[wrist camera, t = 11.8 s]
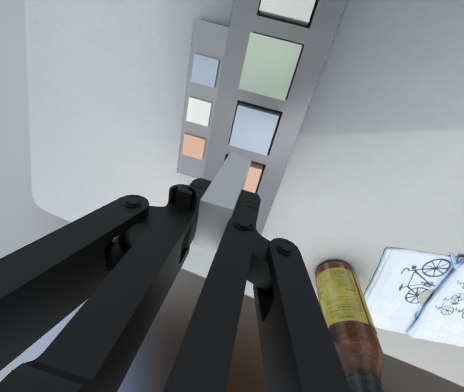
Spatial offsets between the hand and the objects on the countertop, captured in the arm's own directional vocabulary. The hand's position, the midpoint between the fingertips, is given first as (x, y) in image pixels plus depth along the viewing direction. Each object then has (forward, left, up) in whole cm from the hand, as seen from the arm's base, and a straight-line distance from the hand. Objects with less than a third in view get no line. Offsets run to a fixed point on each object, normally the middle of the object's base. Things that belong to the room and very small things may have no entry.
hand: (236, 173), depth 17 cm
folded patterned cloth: (-34, +19, -17) cm, 42 cm away
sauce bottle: (-19, +20, -17) cm, 32 cm away
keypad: (+2, 0, -16) cm, 17 cm away
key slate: (0, 0, -16) cm, 16 cm away
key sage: (0, -6, -14) cm, 15 cm away
